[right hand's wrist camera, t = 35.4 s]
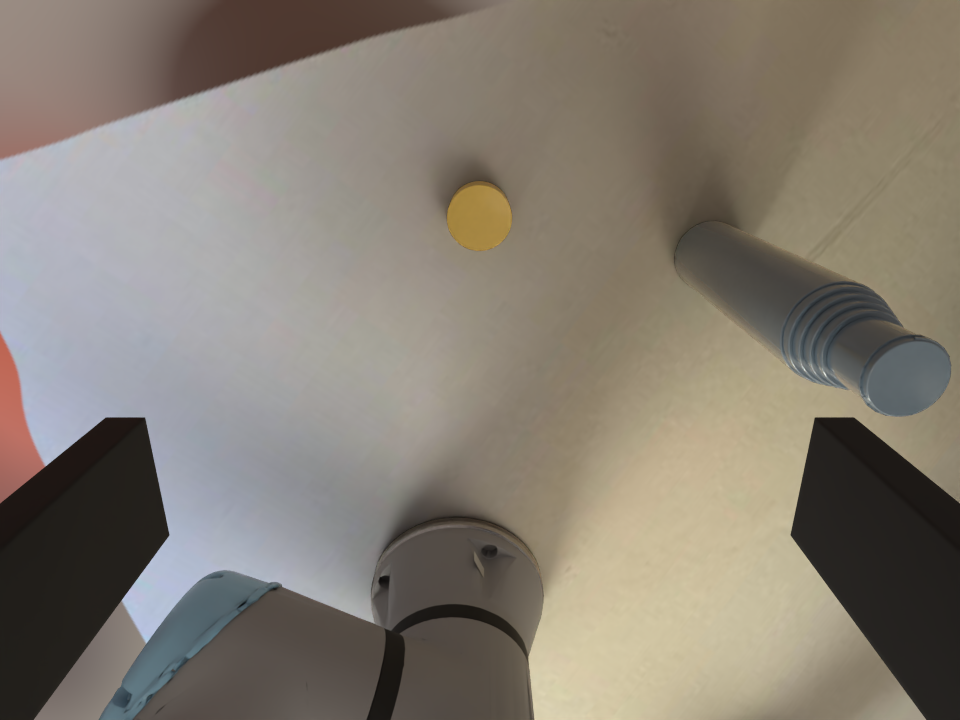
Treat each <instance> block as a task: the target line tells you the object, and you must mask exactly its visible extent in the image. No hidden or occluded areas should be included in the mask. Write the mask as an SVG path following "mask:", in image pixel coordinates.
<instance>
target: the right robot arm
mask: <svg viewBox="0 0 960 720" xmlns="http://www.w3.org/2000/svg"><path fill="white" fill-rule="evenodd" d="M168 536H169V531H168V526H167V521H166V516H165V512H164V507H163V502H162V497H161V492H160V487H159V483H158V478H157V473H156V468H155V463H154V458H153V454H152V449H151V444H150V439H149V434H148V429H147V425H146V420H145V418H105V419H104V420H102V421H101V422H100V423H99V424H97V425H96V426H95V427H94V428H93V429H91V430H90V431H89V432H88V433H86V434H85V435H84V436H83V437H81V438H80V439H79V440H78V441H77V442H75V443H74V444H73V445H72V446H70V447H69V448H68V449H67V450H65V451H64V452H63V453H62V454H61V455H59V456H58V457H57V458H56V459H54V460H53V461H52V462H51V463H49V464H48V465H47V466H46V467H45V468H43V469H42V470H41V471H40V472H38V473H37V474H36V475H35V476H33V477H32V478H31V479H30V480H29V481H27V482H26V483H25V484H24V485H22V486H21V487H20V488H19V489H18V490H16V491H15V492H14V493H13V494H11V495H10V496H9V497H8V498H6V499H5V500H4V501H3V502H2V503H0V720H34V718H35V717H36V716H37V714H38V713H39V712H40V710H41V709H42V707H43V706H44V705H45V703H46V702H47V701H48V699H49V698H50V697H51V695H52V694H53V693H54V691H55V690H56V689H57V687H58V686H59V684H60V683H61V682H62V680H63V679H64V678H65V676H66V675H67V674H68V672H69V671H70V669H71V668H72V667H73V665H74V664H75V663H76V661H77V660H78V659H79V657H80V656H81V655H82V653H83V652H84V650H85V649H86V648H87V646H88V645H89V644H90V642H91V641H92V640H93V638H94V637H95V636H96V634H97V633H98V631H99V630H100V629H101V627H102V626H103V625H104V623H105V622H106V621H107V619H108V618H109V617H110V615H111V614H112V612H113V611H114V610H115V608H116V607H117V606H118V604H119V603H120V602H121V600H122V599H123V598H124V596H125V595H126V593H127V592H128V591H129V589H130V588H131V587H132V585H133V584H134V583H135V581H136V580H137V579H138V577H139V576H140V574H141V573H142V572H143V570H144V569H145V568H146V566H147V565H148V564H149V562H150V561H151V560H152V558H153V557H154V555H155V554H156V553H157V551H158V550H159V549H160V547H161V546H162V545H163V543H164V542H165V540H166V539H167V538H168ZM791 536H792V538H793V539H794V540H795V542H796V543H797V545H798V546H799V547H800V549H801V550H802V551H803V553H804V554H805V555H806V557H807V558H808V560H809V561H810V562H811V564H812V565H813V566H814V568H815V569H816V570H817V572H818V573H819V574H820V576H821V577H822V579H823V580H824V581H825V583H826V584H827V585H828V587H829V588H830V589H831V591H832V592H833V593H834V595H835V596H836V598H837V599H838V600H839V602H840V603H841V604H842V606H843V607H844V608H845V610H846V611H847V612H848V614H849V615H850V617H851V618H852V619H853V621H854V622H855V623H856V625H857V626H858V627H859V629H860V630H861V631H862V633H863V634H864V636H865V637H866V638H867V640H868V641H869V642H870V644H871V645H872V646H873V648H874V649H875V651H876V652H877V653H878V655H879V656H880V657H881V659H882V660H883V661H884V663H885V664H886V665H887V667H888V668H889V670H890V671H891V672H892V674H893V675H894V676H895V678H896V679H897V680H898V682H899V683H900V684H901V686H902V687H903V689H904V690H905V691H906V693H907V694H908V695H909V697H910V698H911V699H912V701H913V702H914V703H915V705H916V706H917V708H918V709H919V710H920V712H921V713H922V714H923V716H924V717H925V718H926V720H960V503H958V502H957V501H956V500H955V499H954V498H952V497H951V496H950V495H949V494H947V493H946V492H945V491H944V490H942V489H941V488H940V487H939V486H938V485H936V484H935V483H934V482H933V481H931V480H930V479H929V478H928V477H927V476H925V475H924V474H923V473H922V472H920V471H919V470H918V469H917V468H915V467H914V466H913V465H912V464H911V463H909V462H908V461H907V460H906V459H904V458H903V457H902V456H901V455H899V454H898V453H897V452H896V451H895V450H893V449H892V448H891V447H890V446H888V445H887V444H886V443H885V442H883V441H882V440H881V439H880V438H879V437H877V436H876V435H875V434H874V433H872V432H871V431H870V430H869V429H867V428H866V427H865V426H864V425H863V424H861V423H860V422H859V421H858V420H856V419H855V418H815V420H814V425H813V429H812V434H811V439H810V444H809V449H808V454H807V458H806V463H805V468H804V473H803V478H802V483H801V487H800V492H799V497H798V502H797V507H796V512H795V516H794V521H793V526H792V531H791ZM371 606H372V613H373V618H374V622H375V624H373V623H370V622H368V621H365V620H363V619H360V618H358V617H355V616H353V615H350V614H348V613H345V612H343V611H340V610H338V609H335V608H333V607H330V606H328V605H325V604H323V603H320V602H318V601H315V600H313V599H310V598H308V597H305V596H303V595H300V594H298V593H296V592H293V591H291V590H288V589H286V588H283V587H282V584H280V583H277V582H271V583H267V582H264V581H261V580H258V579H255V578H252V577H249V576H246V575H243V574H240V573H237V572H234V571H226V570H224V571H217V572H214V573H211V574H209V575H207V576H205V577H204V578H202V579H201V580H200V581H198V582H197V583H196V584H195V585H194V586H193V587H192V588H191V589H190V590H189V591H188V592H187V593H186V594H185V595H184V596H183V597H182V599H181V600H180V601H179V602H178V603H177V604H176V606H175V607H174V608H173V609H172V611H171V612H170V613H169V614H168V616H167V617H166V618H165V620H164V621H163V622H162V623H161V625H160V626H159V627H158V629H157V630H156V632H155V633H154V634H153V636H152V637H151V638H150V640H149V641H148V643H147V644H146V645H145V647H144V648H143V650H142V651H141V653H140V654H139V656H138V657H137V658H136V660H135V661H134V663H133V664H132V666H131V668H130V669H129V671H128V672H127V674H126V675H125V677H124V679H123V681H122V685H121V687H120V688H119V689H118V690H117V691H116V693H115V694H114V696H113V698H112V699H111V701H110V702H109V703H108V705H107V706H106V708H105V709H104V711H103V713H102V715H101V716H100V718H99V720H534V712H533V702H532V692H531V682H530V671H529V662H528V656H529V653H530V650H531V647H532V643H533V640H534V637H535V634H536V631H537V628H538V625H539V622H540V618H541V614H542V608H543V586H542V578H541V573H540V570H539V567H538V564H537V562H536V560H535V558H534V556H533V555H532V553H531V552H530V551H529V549H528V548H527V547H526V546H525V545H524V544H523V543H522V542H521V541H520V540H519V539H518V538H517V537H516V536H514V535H513V534H511V533H510V532H508V531H507V530H505V529H503V528H501V527H499V526H497V525H494V524H492V523H489V522H486V521H482V520H478V519H472V518H461V517H452V518H442V519H436V520H432V521H428V522H425V523H422V524H419V525H417V526H415V527H413V528H411V529H409V530H407V531H406V532H404V533H403V534H401V535H400V536H398V537H397V538H396V539H395V540H394V541H393V542H392V543H391V544H390V545H389V546H388V547H387V548H386V550H385V551H384V553H383V554H382V556H381V558H380V559H379V562H378V564H377V567H376V570H375V574H374V578H373V582H372V588H371Z"/></svg>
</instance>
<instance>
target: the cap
mask: <svg viewBox="0 0 960 720" xmlns="http://www.w3.org/2000/svg"><path fill="white" fill-rule="evenodd" d="M511 223H512V212H511V208H510V205H509V202H508V199H507V197H506V196H505V194H504V193H503V192H502V191H501V190H500V189H499V188H498V187H497V186H495V185H493V184H491V183H488V182H484V181H475V182H471V183H468V184H466V185H464V186H462V187H461V188H460V189H459V190H458V191H457V192H456V193H455V194H454V196H453V197H452V199H451V202H450V205H449V208H448V212H447V224H448V228H449V231H450V233H451V235H452V236H453V238H454V239H455V240H456V241H457V242H458V243H459V244H460V245H462V246H463V247H465V248H468V249H471V250H475V251H483V250H488V249H491V248H494V247H495V246H497V245H498V244H500V243H501V242H502V241H503V240H504V239H505V238H506V236H507V235H508V233H509V230H510V228H511Z"/></svg>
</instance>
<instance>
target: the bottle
mask: <svg viewBox="0 0 960 720" xmlns="http://www.w3.org/2000/svg"><path fill="white" fill-rule="evenodd" d="M675 267H676V270H677V273H678V274H679V276H680V278H681V279H682V280H683V281H684V282H685V283H687V284H688V285H689V286H690V287H691V288H693V289H694V290H695V291H696V292H697V293H699V294H700V295H701V296H702V297H704V298H705V299H706V300H707V301H708V302H710V303H711V304H712V305H713V306H714V307H716V308H717V309H718V310H719V311H720V312H722V313H723V314H724V315H725V316H727V317H728V318H729V319H730V320H731V321H733V322H734V323H735V324H736V325H737V326H739V327H740V328H741V329H742V330H744V331H745V332H746V333H747V334H748V335H750V336H751V337H752V338H753V339H754V340H756V341H757V342H758V343H759V344H761V345H762V346H763V347H764V348H765V349H767V350H768V351H769V352H770V353H771V354H773V355H774V356H775V357H776V358H778V359H779V360H780V361H781V362H782V363H784V364H785V365H786V366H787V367H788V368H790V369H791V370H792V371H793V372H795V373H796V374H797V375H799V376H801V377H803V378H805V379H807V380H809V381H812V382H814V383H818V384H823V385H827V386H832V387H836V388H842V389H845V390H851V391H852V392H853V393H855V394H856V395H857V396H859V397H860V398H861V399H863V401H864V402H865V404H866V405H867V406H869V407H870V408H871V409H873V410H874V411H875V412H878V413H880V414H883V415H886V416H895V417H902V416H909V415H913V414H916V413H919V412H921V411H923V410H925V409H927V408H928V407H929V406H931V405H932V404H933V403H935V402H936V401H937V400H938V399H939V398H940V396H941V395H942V394H943V393H944V391H945V389H946V387H947V385H948V383H949V380H950V375H951V362H950V358H949V357H950V356H949V355H948V353H947V352H946V350H945V348H944V347H942V346H941V345H940V344H939V343H937V342H936V341H933V340H932V339H930V338H927V337H925V336H922V335H917V334H915V333H913V332H911V331H909V330H907V329H905V328H903V326H902V324H901V323H900V322H899V321H898V319H897V317H896V316H895V315H894V313H893V312H892V310H891V309H890V308H889V306H888V305H887V303H886V302H885V301H884V300H883V299H882V298H881V297H880V296H879V295H878V294H876V293H875V292H874V291H873V290H872V289H870V288H869V287H867V286H865V285H863V284H860V283H858V282H856V281H854V280H851V279H849V278H847V277H845V276H842V275H840V274H838V273H836V272H834V271H831V270H829V269H827V268H825V267H822V266H820V265H818V264H816V263H813V262H811V261H809V260H807V259H804V258H802V257H800V256H798V255H796V254H793V253H791V252H789V251H787V250H784V249H782V248H780V247H778V246H775V245H773V244H771V243H769V242H766V241H764V240H762V239H760V238H758V237H755V236H753V235H751V234H749V233H746V232H744V231H742V230H740V229H737V228H735V227H733V226H731V225H728V224H726V223H723V222H719V221H707V222H703V223H700V224H698V225H696V226H694V227H693V228H691V229H690V230H689V231H687V232H686V233H685V234H684V236H683V237H682V238H681V240H680V241H679V243H678V245H677V248H676V252H675Z"/></svg>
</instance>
